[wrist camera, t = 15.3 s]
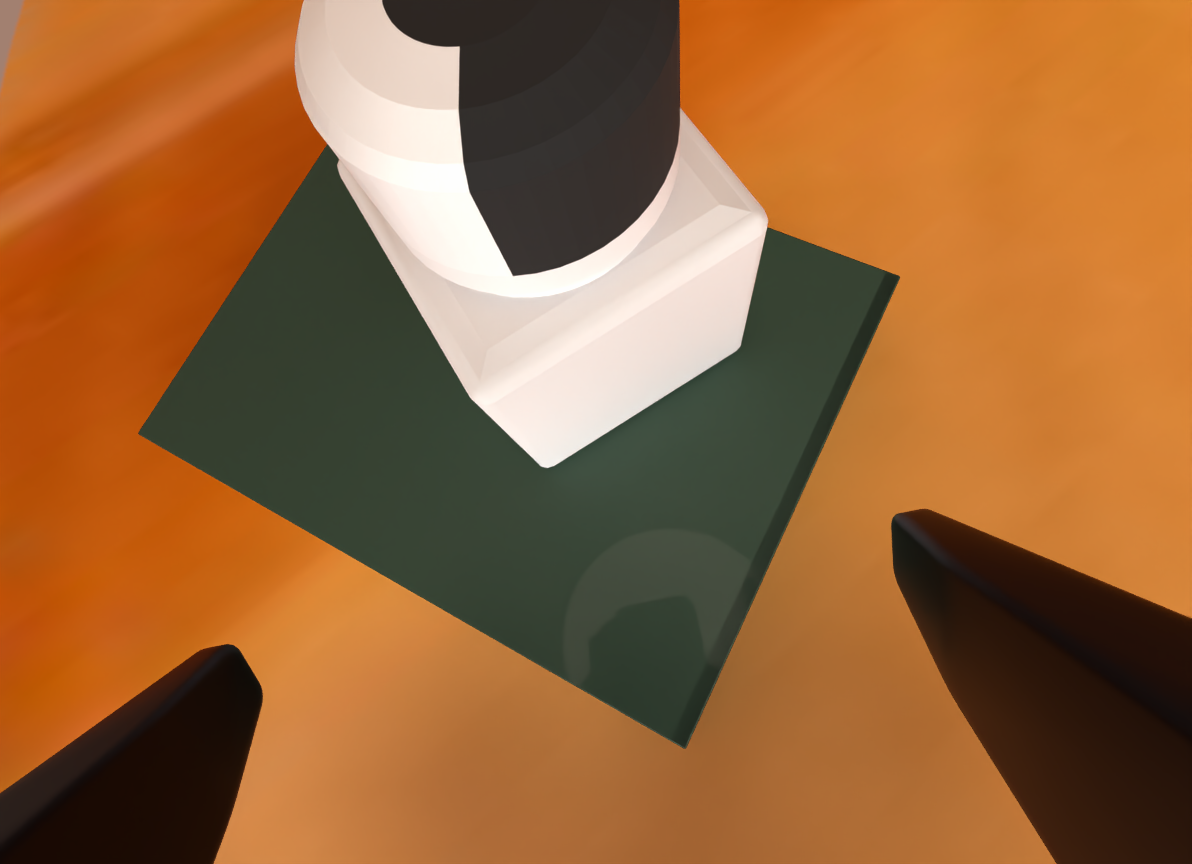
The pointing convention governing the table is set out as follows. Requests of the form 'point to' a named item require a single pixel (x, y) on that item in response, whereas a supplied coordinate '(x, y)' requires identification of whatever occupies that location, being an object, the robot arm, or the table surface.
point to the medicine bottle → (539, 198)
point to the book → (523, 456)
